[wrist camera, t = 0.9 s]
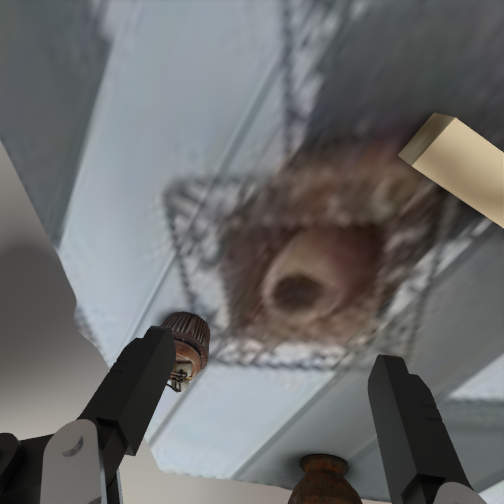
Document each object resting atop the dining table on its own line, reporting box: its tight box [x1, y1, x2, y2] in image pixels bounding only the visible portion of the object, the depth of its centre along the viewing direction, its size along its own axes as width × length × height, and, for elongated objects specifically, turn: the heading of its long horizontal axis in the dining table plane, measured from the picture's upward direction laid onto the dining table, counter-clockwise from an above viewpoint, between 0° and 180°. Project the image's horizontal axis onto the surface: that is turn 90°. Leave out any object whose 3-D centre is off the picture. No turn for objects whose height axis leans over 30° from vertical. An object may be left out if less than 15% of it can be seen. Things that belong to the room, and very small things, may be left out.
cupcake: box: [160, 312, 210, 392], centre depth 42 cm, size 10×10×10 cm
